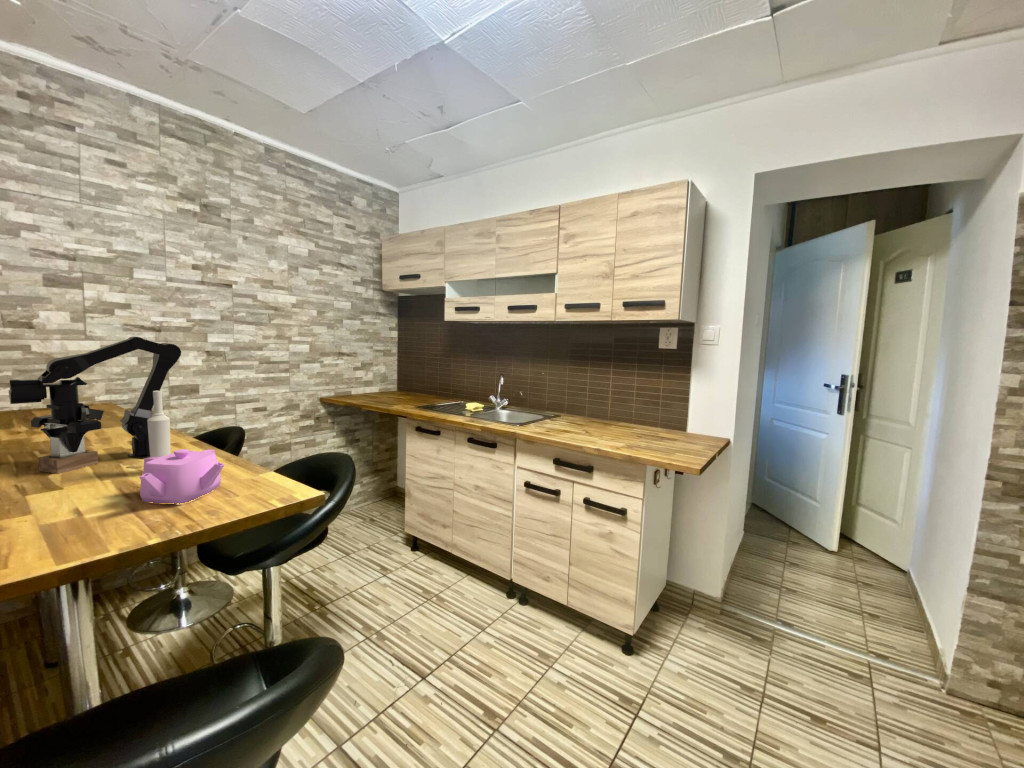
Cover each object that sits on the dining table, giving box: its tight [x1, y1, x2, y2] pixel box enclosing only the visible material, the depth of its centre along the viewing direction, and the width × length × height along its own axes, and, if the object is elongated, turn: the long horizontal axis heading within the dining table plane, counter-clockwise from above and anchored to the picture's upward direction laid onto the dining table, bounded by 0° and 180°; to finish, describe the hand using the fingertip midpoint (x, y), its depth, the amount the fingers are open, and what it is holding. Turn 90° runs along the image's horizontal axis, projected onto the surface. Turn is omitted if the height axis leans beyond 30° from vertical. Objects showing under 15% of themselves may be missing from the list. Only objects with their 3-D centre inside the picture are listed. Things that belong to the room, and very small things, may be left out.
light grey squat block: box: [49, 435, 86, 459], centre depth 122 cm, size 4×6×9 cm, turn 169°
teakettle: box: [139, 448, 225, 504], centre depth 108 cm, size 17×17×12 cm
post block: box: [37, 449, 99, 475], centre depth 122 cm, size 7×10×4 cm
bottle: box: [147, 390, 172, 457], centre depth 122 cm, size 5×5×25 cm
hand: (68, 451), depth 122 cm, fingers open, 4 cm apart
